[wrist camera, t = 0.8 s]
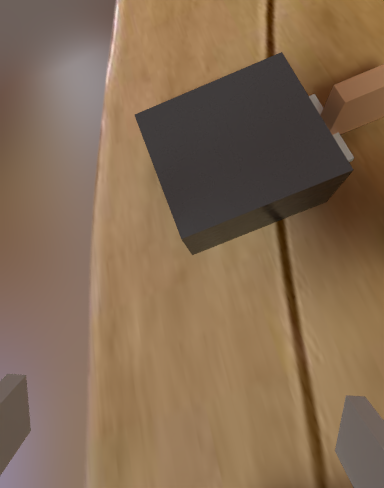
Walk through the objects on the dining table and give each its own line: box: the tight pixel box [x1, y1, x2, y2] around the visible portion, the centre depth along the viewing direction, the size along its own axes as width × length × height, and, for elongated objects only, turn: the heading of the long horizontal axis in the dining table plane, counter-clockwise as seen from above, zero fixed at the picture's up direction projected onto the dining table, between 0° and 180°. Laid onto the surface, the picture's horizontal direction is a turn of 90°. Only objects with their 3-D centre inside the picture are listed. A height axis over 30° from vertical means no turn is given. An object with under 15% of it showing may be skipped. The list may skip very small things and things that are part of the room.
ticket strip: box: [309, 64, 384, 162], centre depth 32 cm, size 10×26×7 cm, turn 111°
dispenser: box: [135, 52, 353, 255], centre depth 34 cm, size 16×19×8 cm
